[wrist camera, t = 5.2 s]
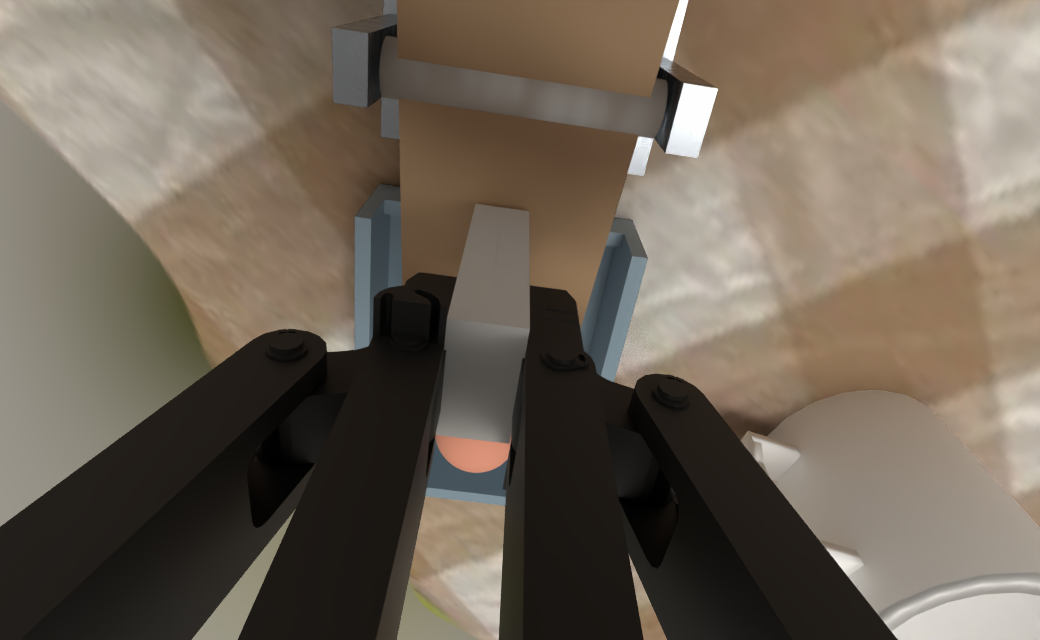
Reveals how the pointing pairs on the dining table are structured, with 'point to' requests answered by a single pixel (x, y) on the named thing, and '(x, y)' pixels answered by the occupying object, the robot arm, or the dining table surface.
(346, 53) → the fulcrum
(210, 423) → the robot arm
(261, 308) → the dining table surface
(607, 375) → the tray
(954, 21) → the dining table surface
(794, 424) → the mug
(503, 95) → the lever
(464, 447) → the ball
